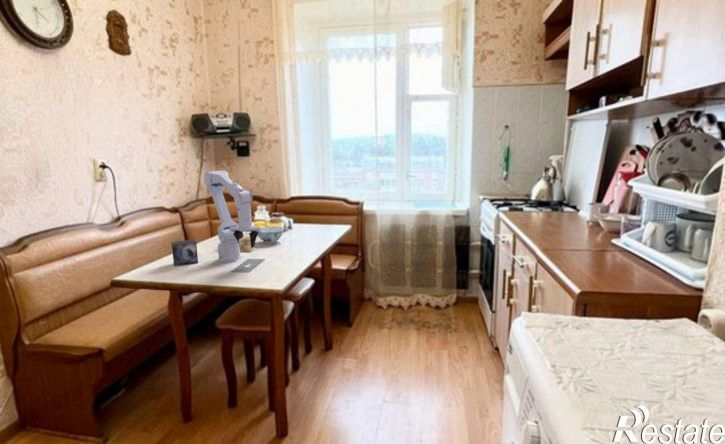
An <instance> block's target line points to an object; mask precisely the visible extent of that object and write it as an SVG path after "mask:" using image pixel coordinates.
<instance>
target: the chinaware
mask: <svg viewBox="0 0 725 444" xmlns="http://www.w3.org/2000/svg"><path fill="white" fill-rule="evenodd" d="M261 227H262V232H259V233H258V235H257V237H259V239H260V240H261V241H263V242H264V244H266V245H267V244H268V245H273V244H277V242H278V240H279V239H281V237H282V236H283V233H284V227H282V226H276V225H275V226H273V225H271V226H261Z"/></svg>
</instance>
